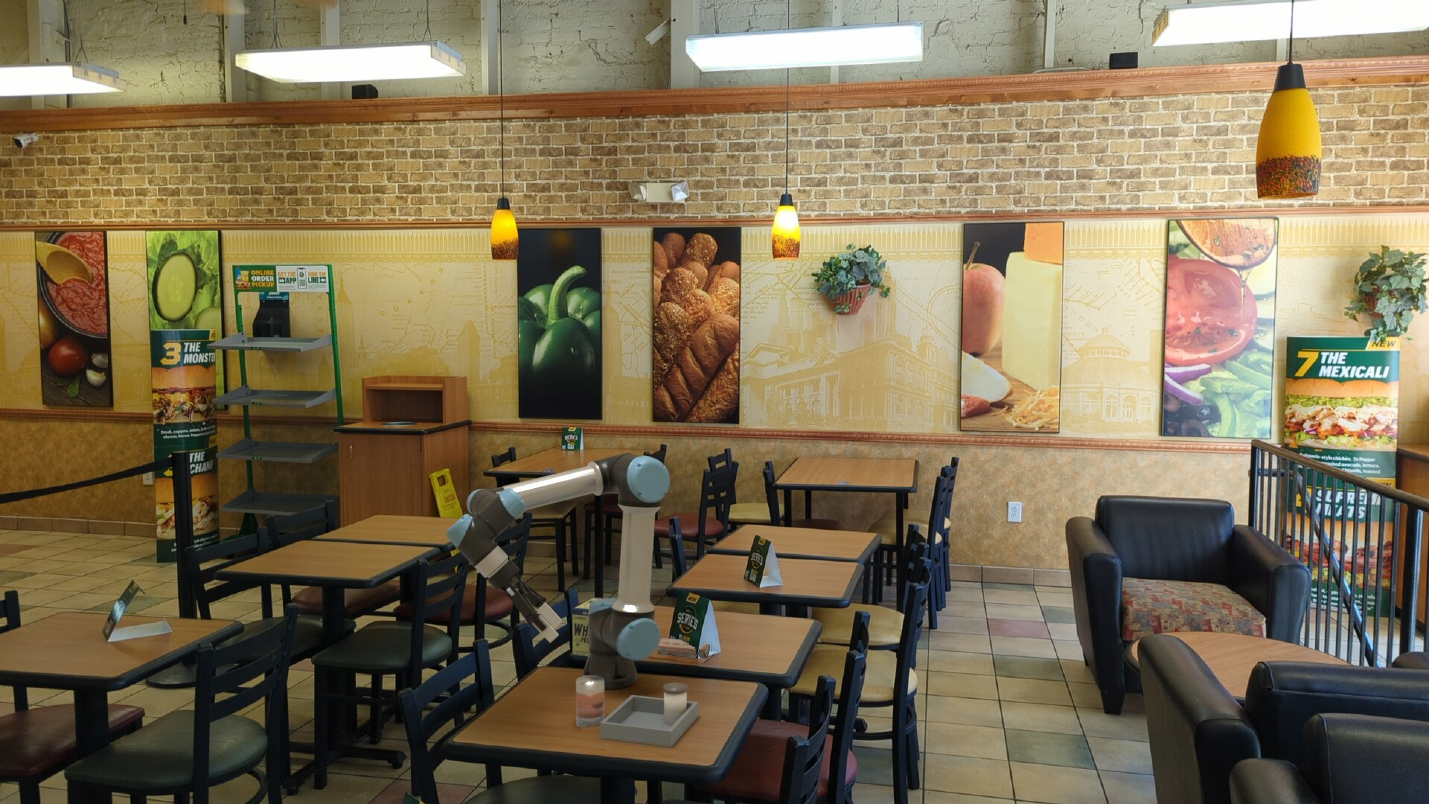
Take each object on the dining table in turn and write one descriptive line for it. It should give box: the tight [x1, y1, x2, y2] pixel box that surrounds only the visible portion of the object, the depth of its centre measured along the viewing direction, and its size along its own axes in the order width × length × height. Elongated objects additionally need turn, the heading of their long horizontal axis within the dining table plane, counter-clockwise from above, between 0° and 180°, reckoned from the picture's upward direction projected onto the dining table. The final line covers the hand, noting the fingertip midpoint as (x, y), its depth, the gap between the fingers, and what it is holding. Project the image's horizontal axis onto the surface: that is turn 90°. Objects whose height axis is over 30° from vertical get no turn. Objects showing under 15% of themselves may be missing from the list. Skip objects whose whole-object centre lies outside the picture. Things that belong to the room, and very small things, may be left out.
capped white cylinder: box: [663, 690, 688, 725], centre depth 245 cm, size 6×6×8 cm
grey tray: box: [599, 694, 699, 748], centre depth 241 cm, size 18×20×4 cm
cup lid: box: [662, 682, 688, 694], centre depth 245 cm, size 6×6×1 cm
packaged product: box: [654, 637, 710, 661], centre depth 301 cm, size 18×5×10 cm
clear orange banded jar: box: [575, 675, 606, 729], centre depth 246 cm, size 7×7×11 cm
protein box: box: [572, 596, 607, 661], centre depth 302 cm, size 10×16×16 cm
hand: (556, 631), depth 244 cm, fingers open, 13 cm apart
